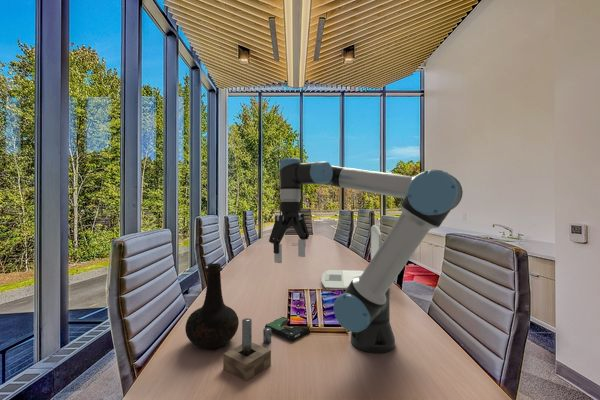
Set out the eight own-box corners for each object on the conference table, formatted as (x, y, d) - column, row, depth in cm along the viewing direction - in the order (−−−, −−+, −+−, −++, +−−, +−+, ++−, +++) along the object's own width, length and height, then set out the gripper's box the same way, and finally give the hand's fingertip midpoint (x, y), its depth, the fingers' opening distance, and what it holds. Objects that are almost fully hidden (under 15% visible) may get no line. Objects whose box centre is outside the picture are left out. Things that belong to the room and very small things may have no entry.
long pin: (253, 365, 90) (253, 319, 90) (246, 370, 88) (246, 322, 88) (247, 362, 92) (247, 317, 91) (240, 366, 89) (240, 320, 89)
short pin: (272, 341, 105) (272, 329, 105) (267, 344, 103) (267, 331, 103) (267, 339, 107) (267, 326, 107) (261, 342, 105) (261, 329, 105)
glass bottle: (179, 340, 106) (179, 262, 106) (226, 327, 117) (226, 256, 117) (194, 362, 92) (194, 272, 92) (247, 345, 103) (246, 264, 103)
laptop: (323, 273, 203) (323, 223, 203) (372, 275, 199) (372, 223, 199) (319, 292, 162) (319, 229, 162) (381, 294, 158) (381, 229, 158)
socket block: (270, 364, 90) (270, 350, 90) (246, 380, 82) (246, 364, 82) (248, 354, 96) (248, 340, 96) (223, 368, 88) (223, 353, 88)
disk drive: (310, 333, 113) (283, 322, 123) (310, 326, 113) (283, 316, 122) (292, 343, 105) (264, 331, 115) (292, 335, 105) (264, 323, 115)
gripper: (302, 200, 120) (302, 253, 120) (258, 201, 100) (258, 264, 100) (318, 200, 115) (318, 255, 115) (274, 201, 95) (275, 267, 95)
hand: (290, 259), depth 107 cm, fingers open, 13 cm apart
